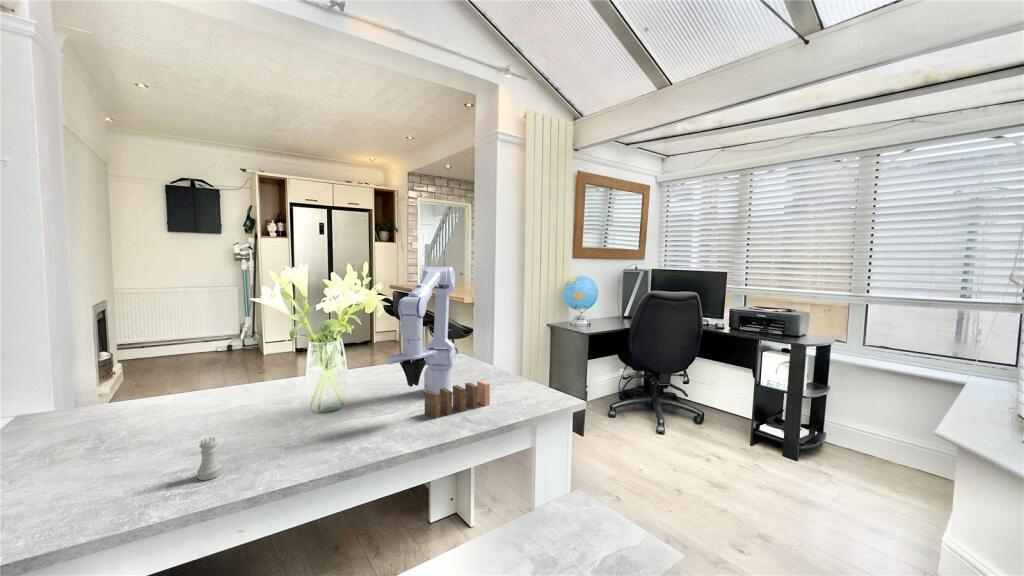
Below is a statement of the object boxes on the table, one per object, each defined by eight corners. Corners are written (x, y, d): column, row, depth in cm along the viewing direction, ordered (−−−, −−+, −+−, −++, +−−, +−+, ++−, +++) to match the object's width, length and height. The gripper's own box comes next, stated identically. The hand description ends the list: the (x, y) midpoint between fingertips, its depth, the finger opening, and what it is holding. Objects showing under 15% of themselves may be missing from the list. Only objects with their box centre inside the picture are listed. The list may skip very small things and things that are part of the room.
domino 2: (447, 415, 122) (447, 392, 122) (439, 410, 126) (439, 388, 126) (452, 414, 123) (452, 391, 123) (444, 409, 127) (444, 387, 127)
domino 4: (473, 409, 127) (473, 387, 127) (465, 404, 131) (465, 383, 131) (477, 408, 128) (477, 386, 128) (469, 403, 132) (469, 382, 132)
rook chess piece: (205, 470, 90) (204, 435, 89) (227, 470, 90) (225, 434, 89) (191, 481, 85) (189, 444, 85) (214, 480, 86) (212, 444, 85)
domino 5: (485, 406, 130) (485, 384, 130) (477, 401, 134) (477, 380, 134) (489, 405, 131) (489, 383, 131) (481, 400, 135) (481, 380, 135)
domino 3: (460, 412, 125) (460, 390, 124) (452, 407, 129) (452, 385, 128) (465, 411, 126) (465, 389, 125) (457, 406, 130) (457, 384, 129)
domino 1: (436, 418, 120) (436, 395, 119) (424, 414, 123) (424, 391, 122) (440, 417, 121) (440, 393, 121) (428, 413, 124) (428, 390, 124)
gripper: (393, 344, 109) (393, 393, 110) (441, 338, 118) (442, 384, 119) (383, 339, 115) (384, 386, 116) (431, 334, 123) (431, 378, 124)
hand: (413, 385), depth 118 cm, fingers closed
